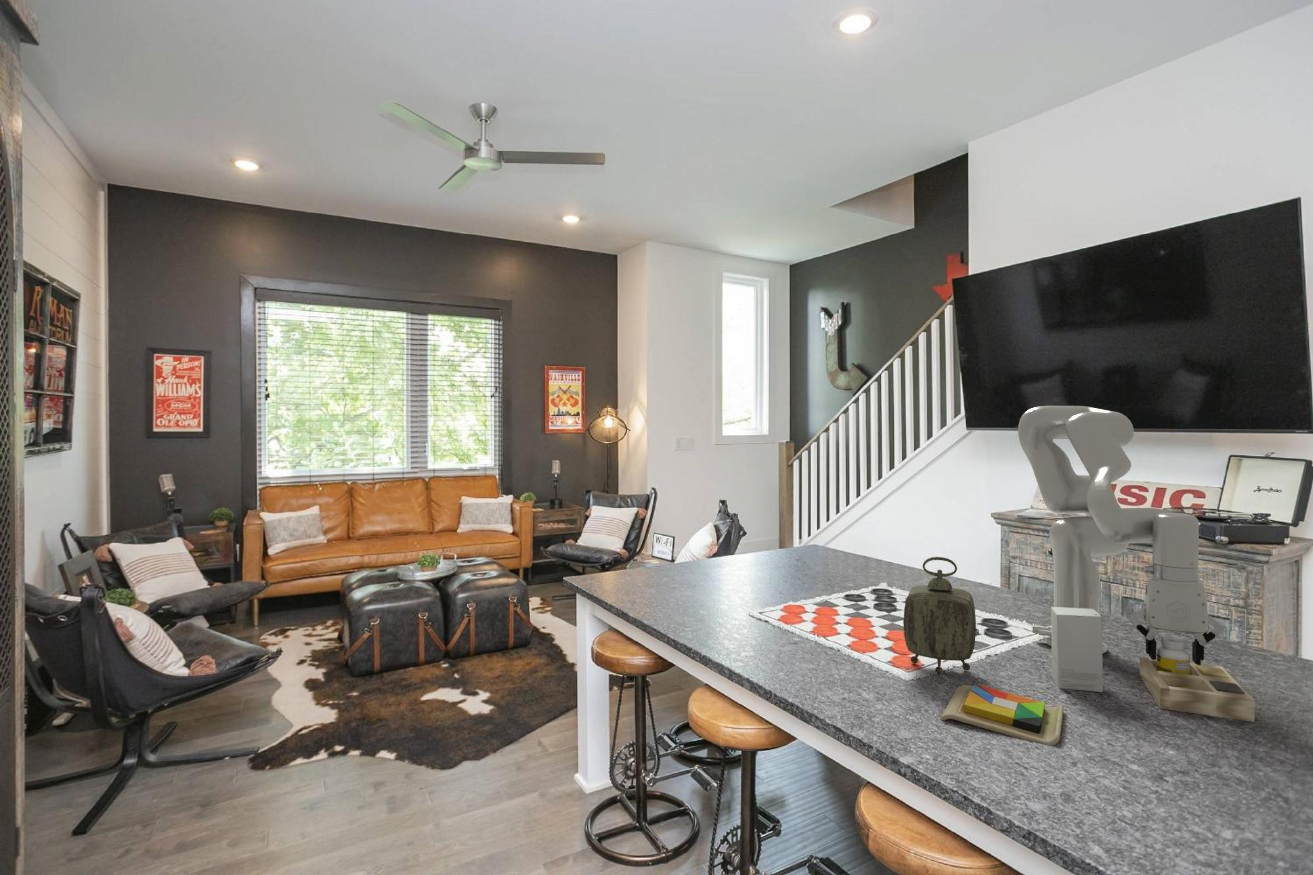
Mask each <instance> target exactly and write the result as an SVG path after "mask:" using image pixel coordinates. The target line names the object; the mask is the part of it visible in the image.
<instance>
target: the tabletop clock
mask: <svg viewBox="0 0 1313 875" xmlns="http://www.w3.org/2000/svg"><path fill="white" fill-rule="evenodd" d="M933 561H942V562H943V561H945V562H947V563H950V564H951V565H953V567H954V570H953V571H952V572H948V573H943V570H941V569H937V571H936V572H933V571H930V570H928V569H926V564H928V563H929V562H933ZM957 566H958V565H957V564H956V563H955V562H954V561H953V560H951V559H950V558H946V557H944V556H943V557H942V556H933V557H930V558H927V559H925V560H924V562H923V564H922V569H923V571H924V572H925V573H927V574H929V575H931V576H933V577H932V578H931V579H930V580H929V581H928V583H927V584H926V585H923V584H922V585H916V586H913V587H911V588H910V590H909V593H908V594H907V597H906V600H905V602H904V603H905V604H904V610H903V620H902V621H903V636H904V641H905V645H906V648H907V650H908V652H910V653H912V654H914V655H913V656H911V657H910V662H911V663H912V664H917V663H918V662H919V656H920V657H924V658H929V659H933V660H937V666H936V667H935V669H934V672H935V674H937V675H942V674H944V670H943V668H942V667H941V666H942V664H941V663H942V661H957V662H958V661H959V662H961V663H962V665H961V666H962V669H963V670H964V671H969V670H970V669H971V665H970V664H969V663H968V662H966V661H965V660H971V657H972V655H973V653H974V650H975V646H976V645H975V644H976V633H977V619H976V618H977V617H976V607H975V602H974V598H973V596H972V594H971V592H969V591H967V590H965V589H962V588H957V587H952V584H951V582H950V580H948V579H947V578H946V577H951V576H953V575H955V574H956V573H957V571H958V567H957Z"/></svg>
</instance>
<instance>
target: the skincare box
mask: <svg viewBox="0 0 1313 875" xmlns="http://www.w3.org/2000/svg"><path fill="white" fill-rule="evenodd" d="M1050 620H1051V621H1050V622H1051V623H1050V624H1051V625H1050V626H1051V637H1052V647H1051V679H1052V680H1053V682H1054V683H1055V685H1056V687H1057V688H1058V689H1059V690H1060V689H1061V690H1075V691H1085V692H1095V693H1103V692H1104V684H1103V683H1104V678H1103V670H1104V669H1103V654H1102V643H1103V617H1102V615H1101V614H1100V615H1099V614H1098V613H1097V612H1096V611H1095V610H1094V609H1085V608H1065V607H1054V606H1051V607H1050Z"/></svg>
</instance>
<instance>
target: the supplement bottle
mask: <svg viewBox="0 0 1313 875" xmlns="http://www.w3.org/2000/svg"><path fill="white" fill-rule="evenodd" d="M1186 645H1187V642H1186V641H1185V640H1184V639H1181V638H1178V637H1172V636H1163V637H1161V646H1162V647H1159V648H1158V649H1157V650H1156V659H1157V671H1162V672H1170V673H1178V674H1186V675H1190V663H1191V656H1190V654H1189V652H1188V651H1186V650H1185V649H1187V648H1186V647H1187V646H1186Z"/></svg>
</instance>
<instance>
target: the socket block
mask: <svg viewBox="0 0 1313 875" xmlns="http://www.w3.org/2000/svg"><path fill="white" fill-rule="evenodd" d="M1139 677H1140V678H1141V680H1142V682H1143V683H1144V685H1145V687H1146V688H1147V690H1148V691H1149V693H1150V694H1152V695H1151V696H1152V698H1153V699H1154V701H1155V703H1156V704H1157V706H1158V708H1159V709H1163V710H1170V711H1176V712H1183V713H1191V714H1196V715H1197V714H1198V715H1204V716H1211V717H1218V718H1224V719H1230V720H1236V721H1237V720H1239V721H1247V722H1251V723H1254V722H1255V712H1256V711H1255V699H1254V697H1252V696H1251V695H1250V694H1249V692H1247V691H1246V690H1245V688H1243V687H1242V686H1241V684H1239V682H1238V681H1237V680H1236V679H1234V677H1232V676H1231V674H1230V673H1229V672H1228V671H1227V670H1225V668H1224V667H1223V666H1218V665H1209V664H1202V663H1201V665H1197V664H1195V663H1194V662H1193V663H1192V662H1190V675H1186V674H1178V673H1170V672H1162V671H1157V658H1156V659H1155V660H1152V659H1151V658H1150V657H1142V656H1140V657H1139Z"/></svg>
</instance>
